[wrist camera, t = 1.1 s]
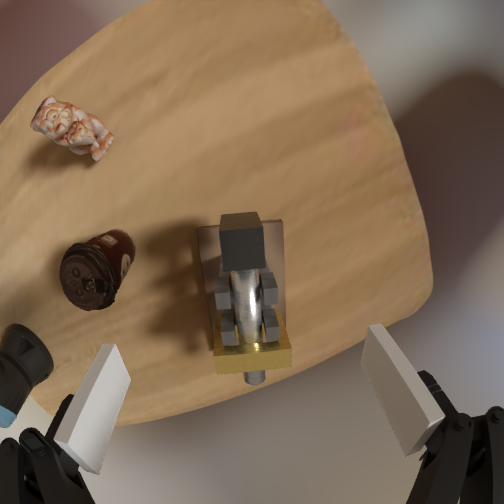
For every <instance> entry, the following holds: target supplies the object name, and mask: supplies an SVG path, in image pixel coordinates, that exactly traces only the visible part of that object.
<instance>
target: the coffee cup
mask: <svg viewBox="0 0 504 504" xmlns="http://www.w3.org/2000/svg"><path fill="white" fill-rule="evenodd" d="M135 249H136V246H135V244H134V240H133V238H132V237H131V236H130V235H129V234H128V233H127V232H125V231H124V230H122V229H113V230H111V231H108V232H107V233H104V234H102V235H100V236H98V237H95V238H92V239H91V240H89V241H88V242H86V243H75V244H73V245H72V246H71V247H70V248H69V249H68V250H67V251H66V253H65V255H64V257H63V260H62V263H61V266H60V280H61V283H62V287H63V290H64V293H65V295H66V297H67V298H68V300H69V301H70V302H72V303H73V304H74V305H75V306H77V307H79V308H80V309H83V310H86V311H90V310H101V309H104V308H107V307H109V306H110V305H112V303H113V302H115V300H114V299H115V294H116V293H117V290H118V289H119V287H120V285H121V283H122V281H123V279H124V277H125V276H126V274H127V272H128V270H129V268H130V265H131V264H132V262H133V260H134V257H135Z"/></svg>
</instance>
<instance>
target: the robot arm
mask: <svg viewBox="0 0 504 504" xmlns="http://www.w3.org/2000/svg"><path fill="white" fill-rule="evenodd" d="M360 365H361V367H362V369H363V371H364V373H365V375H366V377H367V378H368V380H369V382H370V384H371V386H372V388H373V390H374V392H375V394H376V396H377V398H378V400H379V402H380V404H381V406H382V408H383V410H384V412H385V414H386V416H387V418H388V420H389V422H390V424H391V427H392V429H393V431H394V433H395V435H396V437H397V439H398V441H399V444H400V446H401V448H402V450H403V452H404V454H405V456H409V455H411V454H413V453H415V452H418V451H420V450H421V449H422V447H423V446H424V445H426V447H427V450H426V451H425V452H424V454H423V455H422V456H421V457H420V459H419V460H420V461H421V460H422V459H423V461H422V464H421V467H420V470H419V473H418V475H417V478H416V481H415V483H414V486H413V488H412V491H411V493H410V496H409V498H408V500H407V502H406V504H457V503H458V500H459V497H460V503H459V504H504V409H503V408H501V407H499V406H494V407H491V409H489V410H488V412H487V413H486V414H485V415H481V416H476V417H470V416H469V415H467V414H464V413H458V412H457V410H456V409H455V408H454V406H453V405H452V403H451V402H450V400H449V399H448V397H447V396H446V394H445V393H444V392H443V391H442V389H441V387H440V386H439V385H438V384H437V382H436V380H435V379H434V378H433V376H432V375H430V374H429V373H428V372H426V371H425V370H423V371H420V372H416V371H415V370H414V368H413V367H412V365H411V364H410V362H409V361H408V360H407V358H406V357H405V356H404V354H403V353H402V351H401V350H400V348H399V347H398V346H397V344H396V343H395V342H394V340H393V339H392V337H391V336H390V335H389V334H388V332H387V331H386V329H385V328H384V327H383V325H382V324H376V325H371V326H368V331H367V336H366V341H365V345H364V350H363V354H362V359H361V363H360ZM53 368H54V365H53V360H52V357H51V355H50V353H49V351H48V350H47V348H46V346H45V345H44V344H43V343H42V341H41V340H40V339H39V338H38V337H37V336H36V335H35V334H34V333H33V332H32V331H30V330H29V329H28V328H26V327H24V326H22V325H19V324H12V325H11V326H10V327H9V328H8V329H7V330H6V331H5V333H4V336H3V338H2V341H1V344H0V427H2V428H8V427H9V426H10V425H11V424H12V423H13V421H14V419H15V418H17V414H18V413H19V411H20V409H21V407H22V406H23V404H24V402H25V400H26V399H27V397H28V395H29V394H30V392H31V390H32V389H33V387H35V386H36V385H38V384H39V383H41V382H42V381H44V380H45V379H47V378H48V377H49V376H50V374H51V372H52V371H53ZM130 382H131V379H130V376H129V374H128V372H127V370H126V368H125V365H124V363H123V361H122V358H121V356H120V354H119V351H118V349H117V346H116V344H114V343H103V345H102V346H101V348H100V350H99V352H98V353H97V355H96V357H95V359H94V360H93V362H92V364H91V366H90V368H89V369H88V371H87V373H86V375H85V377H84V378H83V380H82V382H81V384H80V386H79V388H78V390H77V392H76V394H75V395H72V394H69V395H68V396H67V397H66V398H65V399H64V400H63V401H62V403H61V405H60V407H59V410H58V411H57V413H56V416H55V417H54V419H53V421H52V423H51V425H50V427H49V429H48V431H47V433H46V435H45V437H44V436H43V435H42V434H41V433H40V431H38V430H37V429H36V428H32V427H31V428H27V429H25V430H24V431H23V432H22V433H21V434H20V437H19V443H20V444H19V443H18V442H17V441H16V440H15V439H13V438H6V439H4V440H3V441H2V442H1V444H0V504H95V502H94V500H93V498H92V497H91V495H90V492H89V490H88V489H87V486H86V484H85V482H84V480H83V478H82V476H81V474H80V472H79V471H78V467H79V465H80V466H81V467H82V468H83V469H84V470H85V471H87V472H91V473H94V474H98V475H99V473H100V470H101V467H102V463H103V460H104V457H105V454H106V450H107V447H108V444H109V441H110V438H111V435H112V432H113V429H114V426H115V423H116V420H117V417H118V414H119V411H120V409H121V406H122V403H123V400H124V398H125V395H126V392H127V389H128V387H129V384H130Z"/></svg>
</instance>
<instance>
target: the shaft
mask: <svg viewBox="0 0 504 504" xmlns="http://www.w3.org/2000/svg"><path fill="white" fill-rule="evenodd" d="M219 238H220V247H221V256H222V264H223V272H231V281H232V289H233V298H234V306H235V314H236V322H237V330H238V338H239V345H244V344H255V343H263V332H262V317H261V302H260V288H259V273H258V269H261V268H266V262H265V246H264V230H263V225H262V223H261V221H260V218H259V216H258V214H257V212H246V213H235V214H224V215H221V220H220V226H219ZM243 375H244V380H245V382H246V383H248V384H250V385H258V384H261V383H262V382H264V380H265V370H261V371H252V372H243Z"/></svg>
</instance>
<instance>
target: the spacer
mask: <svg viewBox="0 0 504 504" xmlns="http://www.w3.org/2000/svg"><path fill="white" fill-rule="evenodd" d="M275 313H276V316H277V320H278V324H279V335H280V340H276V341H271V342H264V343H255V344H244V345H233V346H231V345H225V346H223V342H222V336H221V316H222V314H219V315H216V322H215V336H214V351H213V358H214V363H215V367H216V372H217V374H228V373H241V372H252V371H261V370H270V369H278V368H286V367H291V362H292V348H291V345H290V341H289V338H288V335H287V331H286V328H285V325H284V322H283V318H282V315H281V312H280V309H275ZM235 332H236V337H238V330H237V325H235ZM262 332H263V335H265V329H264V324H263V323H262Z"/></svg>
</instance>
